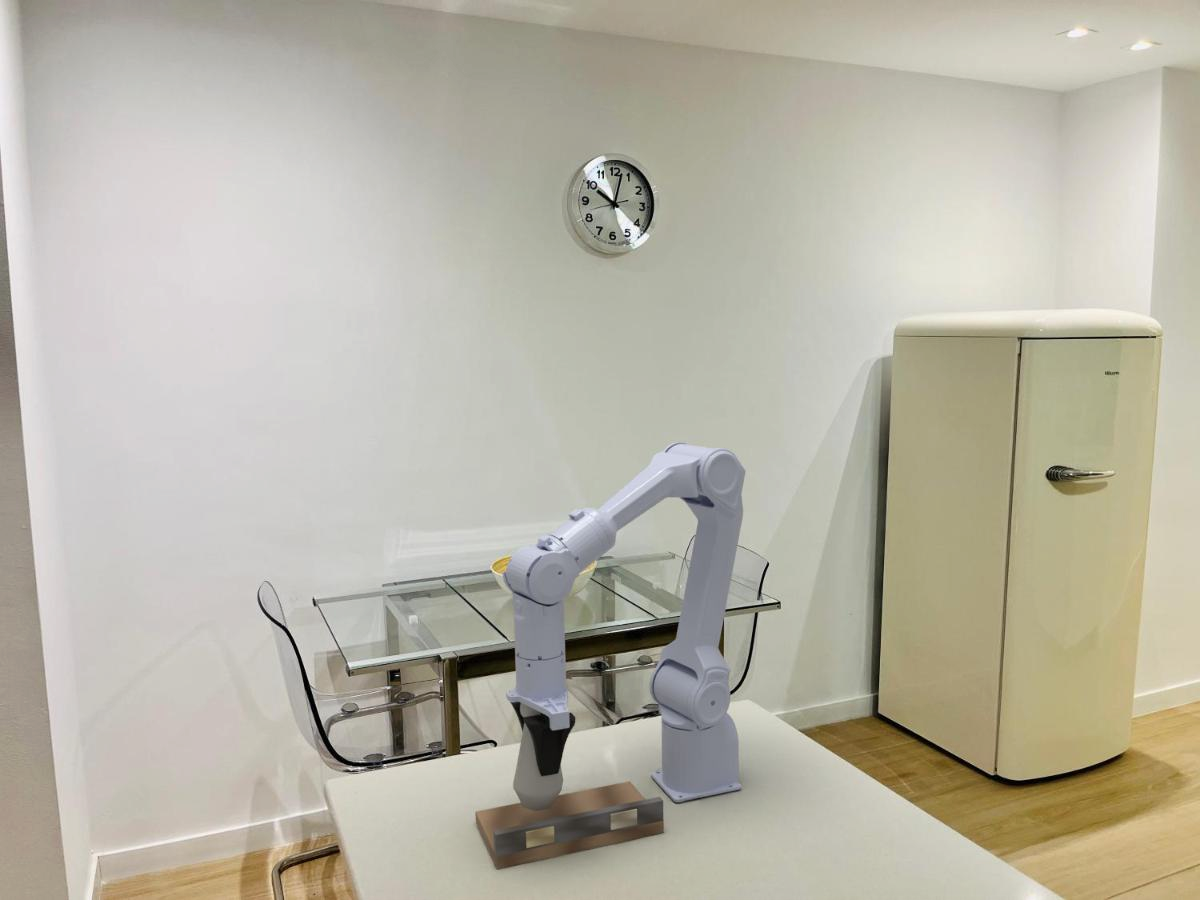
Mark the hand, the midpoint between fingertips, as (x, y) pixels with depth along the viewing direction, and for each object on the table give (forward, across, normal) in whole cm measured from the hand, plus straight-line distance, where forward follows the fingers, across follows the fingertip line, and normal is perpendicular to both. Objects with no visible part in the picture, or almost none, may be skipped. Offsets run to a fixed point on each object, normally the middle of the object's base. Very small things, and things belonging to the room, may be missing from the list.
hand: (543, 765), depth 108 cm
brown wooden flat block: (+9, -1, +3) cm, 9 cm away
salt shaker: (+5, 0, -1) cm, 5 cm away
